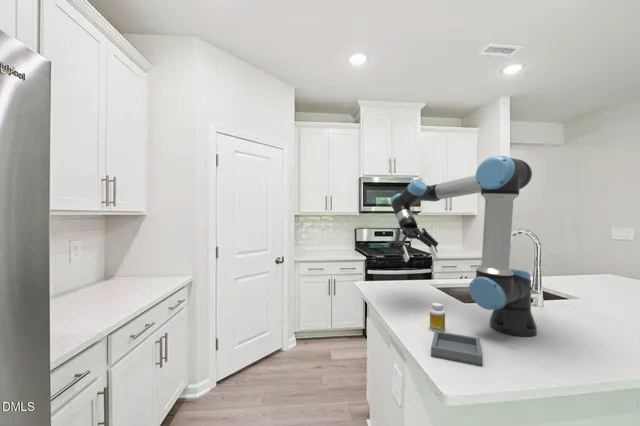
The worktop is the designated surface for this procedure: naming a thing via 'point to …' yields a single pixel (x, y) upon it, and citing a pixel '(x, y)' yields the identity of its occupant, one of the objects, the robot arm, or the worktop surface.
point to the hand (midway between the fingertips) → (422, 260)
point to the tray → (457, 348)
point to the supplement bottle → (437, 317)
